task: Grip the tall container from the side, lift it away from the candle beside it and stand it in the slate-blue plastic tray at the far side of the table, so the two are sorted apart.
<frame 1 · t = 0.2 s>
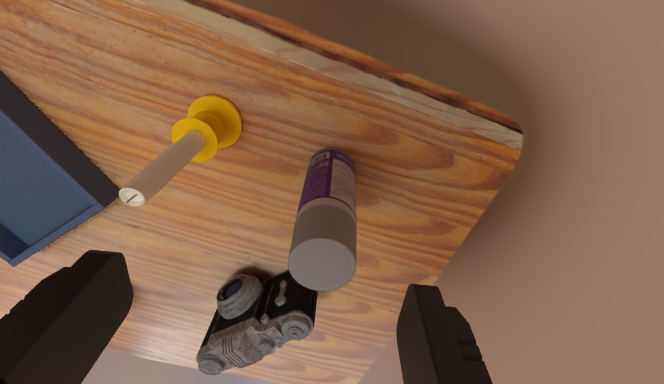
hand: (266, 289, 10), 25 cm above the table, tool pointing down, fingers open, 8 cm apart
tray: (9, 162, 37), on the table
camera: (261, 282, 44), on the table
candle: (216, 120, 34), on the table
container: (331, 167, 36), on the table
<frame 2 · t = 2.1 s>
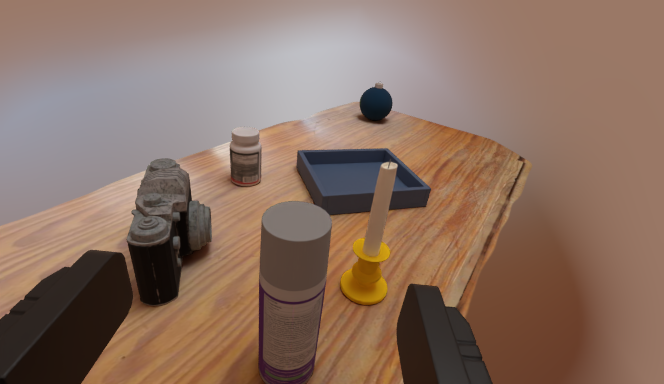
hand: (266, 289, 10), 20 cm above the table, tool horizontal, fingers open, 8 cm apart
christmas ornament: (373, 120, 92), on the table
tray: (357, 185, 59), on the table
pill bottle: (246, 180, 56), on the table
camera: (181, 255, 39), on the table
candle: (363, 288, 38), on the table
container: (286, 365, 29), on the table
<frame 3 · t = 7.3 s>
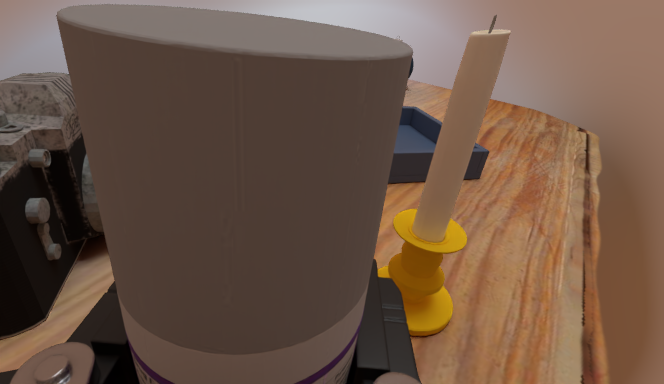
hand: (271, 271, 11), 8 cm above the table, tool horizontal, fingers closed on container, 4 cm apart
tray: (378, 151, 41), on the table
camera: (83, 242, 22), on the table
candle: (406, 302, 21), on the table
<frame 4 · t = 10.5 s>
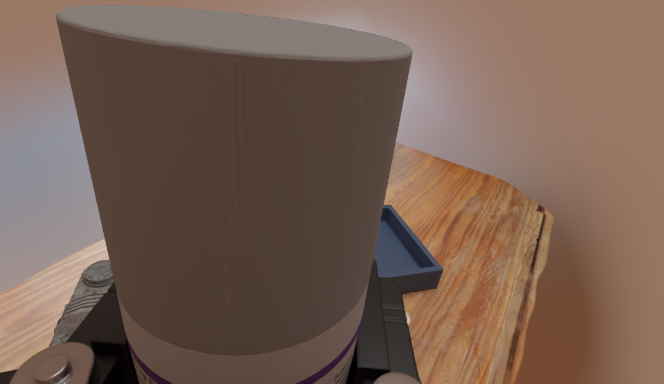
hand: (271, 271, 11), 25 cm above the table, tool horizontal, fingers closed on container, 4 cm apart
tray: (355, 256, 50), on the table
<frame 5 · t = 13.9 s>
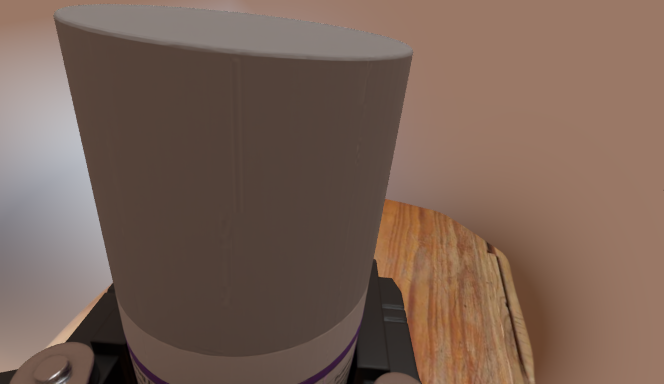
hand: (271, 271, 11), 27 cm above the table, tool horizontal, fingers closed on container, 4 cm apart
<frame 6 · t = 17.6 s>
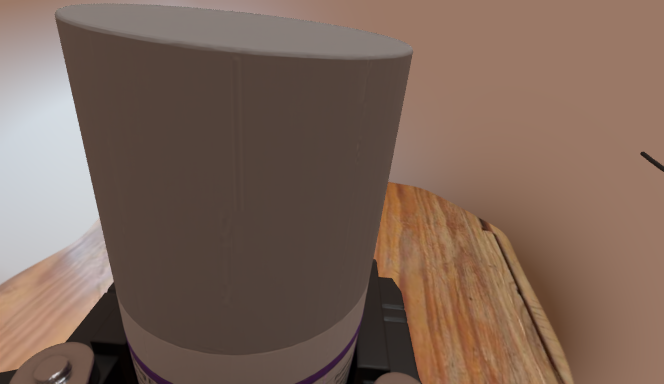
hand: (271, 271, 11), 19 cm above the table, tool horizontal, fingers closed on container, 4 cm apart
when the fingers open (9 cm above the table, at t = 20.7 s): container stays where it is, resting on tray.
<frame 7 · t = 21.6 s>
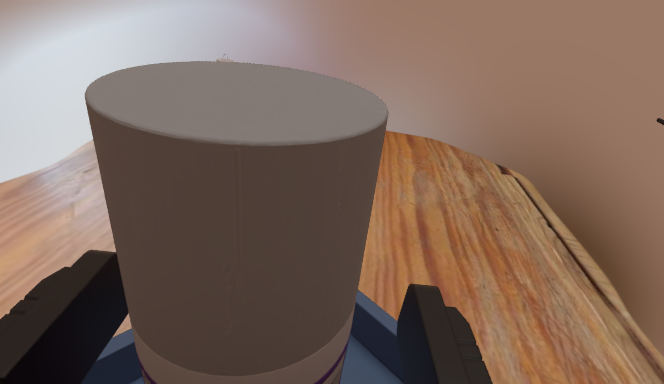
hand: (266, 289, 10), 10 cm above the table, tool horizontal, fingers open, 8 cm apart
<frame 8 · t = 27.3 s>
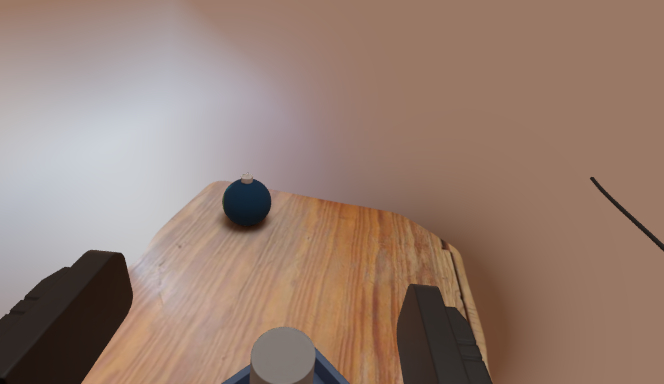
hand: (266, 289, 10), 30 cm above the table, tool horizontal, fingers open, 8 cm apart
christmas ornament: (247, 222, 63), on the table
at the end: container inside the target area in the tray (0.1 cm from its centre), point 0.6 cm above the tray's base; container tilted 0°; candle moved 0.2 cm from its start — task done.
